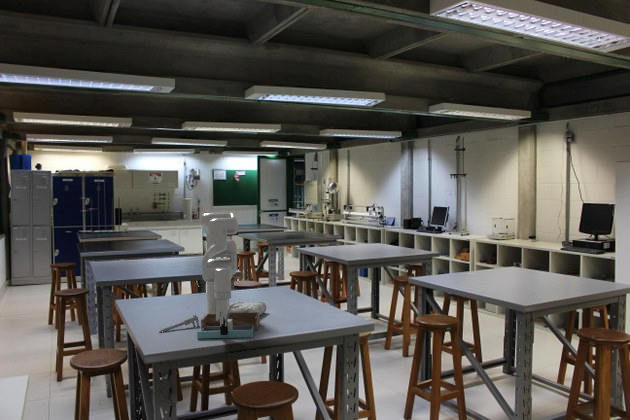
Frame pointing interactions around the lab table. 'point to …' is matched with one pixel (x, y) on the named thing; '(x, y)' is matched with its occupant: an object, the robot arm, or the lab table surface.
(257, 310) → the white folded cloth
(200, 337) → the tray
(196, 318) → the caliper
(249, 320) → the dock
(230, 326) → the white speckled block
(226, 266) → the robot arm
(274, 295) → the lab table surface
